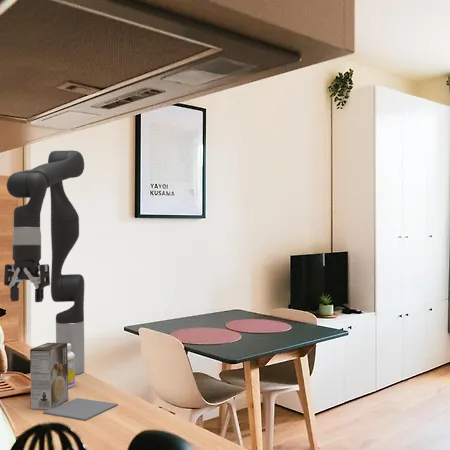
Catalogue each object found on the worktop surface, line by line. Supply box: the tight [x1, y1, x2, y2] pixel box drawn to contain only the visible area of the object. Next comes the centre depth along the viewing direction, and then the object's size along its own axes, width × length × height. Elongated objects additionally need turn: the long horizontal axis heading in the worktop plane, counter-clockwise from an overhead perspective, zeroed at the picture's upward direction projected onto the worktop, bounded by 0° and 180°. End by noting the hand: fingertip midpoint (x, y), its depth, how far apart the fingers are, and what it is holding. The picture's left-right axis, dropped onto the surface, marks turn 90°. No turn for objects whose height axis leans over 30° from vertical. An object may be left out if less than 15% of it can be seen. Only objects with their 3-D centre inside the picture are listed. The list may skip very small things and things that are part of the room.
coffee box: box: [29, 342, 69, 411], centre depth 145 cm, size 9×6×16 cm
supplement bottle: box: [67, 343, 76, 389], centre depth 162 cm, size 7×7×13 cm
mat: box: [42, 397, 119, 422], centre depth 140 cm, size 14×13×1 cm
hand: (26, 301), depth 147 cm, fingers open, 8 cm apart
